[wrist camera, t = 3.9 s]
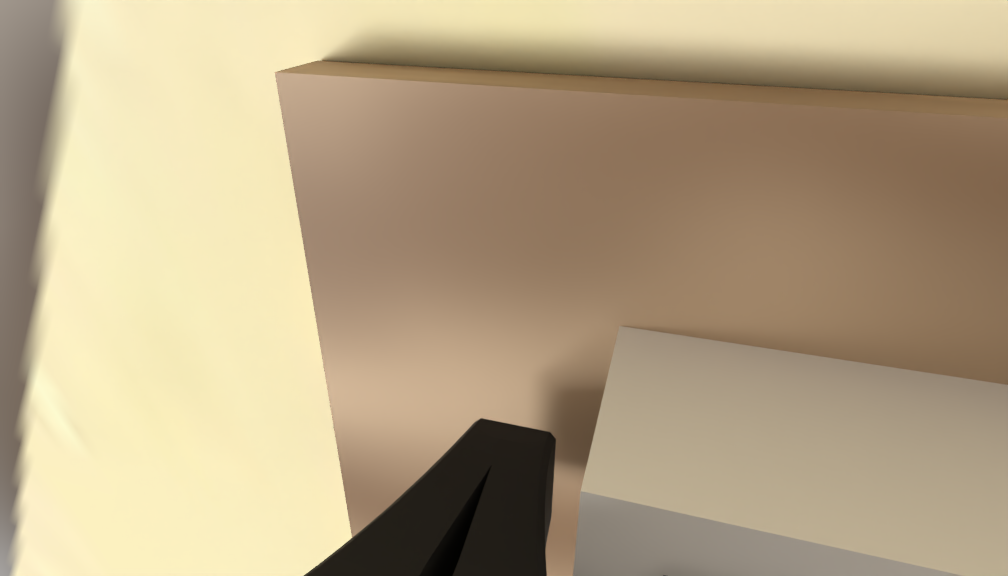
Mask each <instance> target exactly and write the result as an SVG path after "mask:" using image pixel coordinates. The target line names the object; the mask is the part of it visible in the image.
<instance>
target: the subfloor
mask: <svg viewBox="0 0 1008 576" xmlns="http://www.w3.org/2000/svg"><path fill="white" fill-rule="evenodd" d="M275 76H276V82H277V88H278V94H279V100H280V106H281V112H282V118H283V124H284V130H285V136H286V142H287V148H288V154H289V160H290V166H291V172H292V178H293V184H294V190H295V196H296V202H297V208H298V214H299V220H300V226H301V232H302V238H303V244H304V250H305V256H306V262H307V268H308V274H309V280H310V286H311V292H312V298H313V304H314V310H315V316H316V322H317V328H318V334H319V340H320V346H321V352H322V359H323V365H324V371H325V377H326V383H327V389H328V395H329V401H330V407H331V413H332V419H333V425H334V431H335V437H336V443H337V449H338V455H339V461H340V467H341V473H342V479H343V485H344V491H345V497H346V503H347V509H348V515H349V521H350V527H351V533H352V538H353V537H354V536H355V535H356V534H357V533H359V532H360V531H361V530H362V529H363V528H365V527H366V526H367V525H368V524H369V523H370V522H372V521H373V520H374V519H375V518H376V517H378V516H379V515H380V514H381V513H382V512H383V511H385V510H386V509H387V508H388V507H389V506H390V505H391V504H392V503H394V502H395V501H396V500H397V499H398V498H399V497H400V496H401V495H402V494H403V493H404V492H405V491H406V490H407V489H409V488H410V487H411V486H412V485H413V484H414V483H415V482H416V481H417V480H418V479H419V478H420V477H421V476H422V475H424V474H425V473H426V472H427V471H428V470H429V469H430V468H431V467H432V466H433V465H434V464H435V463H436V462H437V461H438V460H439V459H440V458H441V457H442V456H443V455H444V454H445V453H446V452H447V451H448V450H449V449H450V448H451V447H452V446H453V445H454V443H455V442H456V441H457V440H458V439H459V438H460V437H461V436H462V435H463V434H464V433H465V432H466V431H467V430H468V429H469V428H470V427H471V425H472V424H473V423H474V422H476V421H477V420H479V419H480V418H483V419H488V420H493V421H498V422H503V423H508V424H513V425H518V426H523V427H528V428H533V429H538V430H543V431H548V432H550V433H551V434H552V435H553V436H554V437H555V438H556V448H555V465H554V482H553V498H552V515H551V521H550V526H549V532H548V537H547V542H546V549H545V554H546V571H547V576H573V570H574V559H575V548H576V537H577V526H578V515H579V504H580V493H581V487H582V483H583V479H584V475H585V470H586V466H587V462H588V458H589V453H590V449H591V445H592V441H593V436H594V432H595V428H596V424H597V419H598V415H599V411H600V407H601V402H602V398H603V394H604V390H605V385H606V381H607V377H608V373H609V368H610V364H611V360H612V356H613V351H614V347H615V343H616V339H617V334H618V330H619V326H624V327H630V328H637V329H643V330H650V331H657V332H663V333H670V334H676V335H683V336H689V337H696V338H703V339H709V340H716V341H722V342H729V343H736V344H742V345H749V346H755V347H762V348H768V349H775V350H782V351H788V352H795V353H801V354H808V355H815V356H821V357H828V358H834V359H841V360H847V361H854V362H861V363H867V364H874V365H880V366H887V367H893V368H900V369H907V370H913V371H920V372H926V373H933V374H940V375H946V376H953V377H959V378H966V379H972V380H979V381H986V382H992V383H999V384H1005V385H1008V100H1003V99H986V98H968V97H950V96H933V95H915V94H897V93H880V92H862V91H844V90H827V89H809V88H791V87H774V86H756V85H738V84H721V83H703V82H685V81H667V80H650V79H632V78H614V77H597V76H579V75H561V74H544V73H526V72H508V71H491V70H473V69H455V68H438V67H420V66H402V65H385V64H367V63H349V62H331V61H315V62H311V63H307V64H304V65H300V66H296V67H293V68H289V69H285V70H281V71H278V72H275Z"/></svg>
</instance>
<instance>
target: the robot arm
mask: <svg viewBox="0 0 1008 576" xmlns="http://www.w3.org/2000/svg"><path fill="white" fill-rule="evenodd" d="M555 448H556V438H555V437H554V436H553V435H552V434H551V433H550V432H548V431H543V430H538V429H533V428H528V427H523V426H518V425H513V424H508V423H503V422H498V421H493V420H488V419H483V418H480V419H479V420H477V421H476V422H474V423H473V424H472V425H471V427H470V428H469V429H468V430H467V431H466V432H465V433H464V434H463V435H462V436H461V437H460V438H459V439H458V440H457V441H456V442H455V443H454V445H453V446H452V447H451V448H450V449H449V450H448V451H447V452H446V453H445V454H444V455H443V456H442V457H441V458H440V459H439V460H438V461H437V462H436V463H435V464H434V465H433V466H432V467H431V468H430V469H429V470H428V471H427V472H426V473H425V474H424V475H422V476H421V477H420V478H419V479H418V480H417V481H416V482H415V483H414V484H413V485H412V486H411V487H410V488H409V489H407V490H406V491H405V492H404V493H403V494H402V495H401V496H400V497H399V498H398V499H397V500H396V501H395V502H394V503H392V504H391V505H390V506H389V507H388V508H387V509H386V510H385V511H383V512H382V513H381V514H380V515H379V516H378V517H376V518H375V519H374V520H373V521H372V522H370V523H369V524H368V525H367V526H366V527H365V528H363V529H362V530H361V531H360V532H359V533H357V534H356V535H355V536H354V537H353V538H351V539H350V540H349V541H348V542H347V543H346V544H344V545H343V546H342V547H341V548H339V549H338V550H337V551H336V552H334V553H333V554H332V555H330V556H329V557H328V558H327V559H325V560H324V561H323V562H321V563H320V564H319V565H317V566H316V567H315V568H313V569H312V570H311V571H310V572H308V573H307V574H305V575H304V576H547V571H546V554H545V549H546V542H547V537H548V532H549V526H550V521H551V515H552V498H553V482H554V465H555Z"/></svg>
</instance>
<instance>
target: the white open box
mask: <svg viewBox="0 0 1008 576" xmlns="http://www.w3.org/2000/svg"><path fill="white" fill-rule="evenodd" d="M573 576H1008V385H1005V384H999V383H992V382H986V381H979V380H972V379H966V378H959V377H953V376H946V375H940V374H933V373H926V372H920V371H913V370H907V369H900V368H893V367H887V366H880V365H874V364H867V363H861V362H854V361H847V360H841V359H834V358H828V357H821V356H815V355H808V354H801V353H795V352H788V351H782V350H775V349H768V348H762V347H755V346H749V345H742V344H736V343H729V342H722V341H716V340H709V339H703V338H696V337H689V336H683V335H676V334H670V333H663V332H657V331H650V330H643V329H637V328H630V327H624V326H619V330H618V334H617V339H616V343H615V347H614V351H613V356H612V360H611V364H610V368H609V373H608V377H607V381H606V385H605V390H604V394H603V398H602V402H601V407H600V411H599V415H598V419H597V424H596V428H595V432H594V436H593V441H592V445H591V449H590V453H589V458H588V462H587V466H586V470H585V475H584V479H583V483H582V487H581V493H580V504H579V515H578V526H577V537H576V548H575V559H574V570H573Z"/></svg>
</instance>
